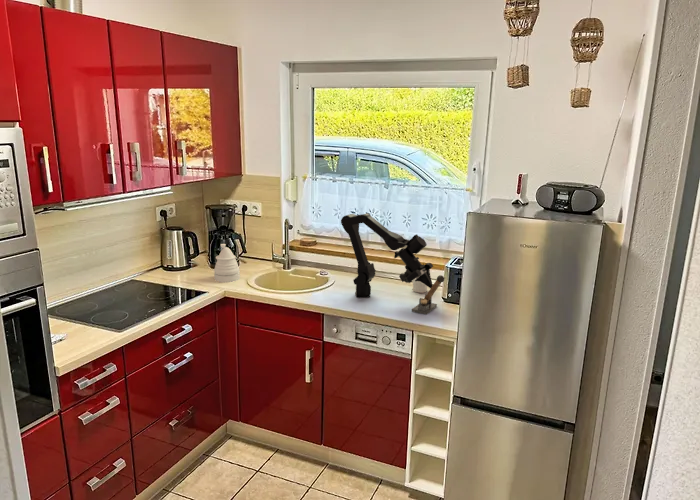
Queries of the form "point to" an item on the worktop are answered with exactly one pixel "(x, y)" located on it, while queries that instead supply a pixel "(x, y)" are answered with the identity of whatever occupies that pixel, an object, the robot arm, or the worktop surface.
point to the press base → (424, 306)
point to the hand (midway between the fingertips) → (431, 287)
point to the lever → (434, 287)
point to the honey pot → (226, 266)
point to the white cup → (419, 286)
